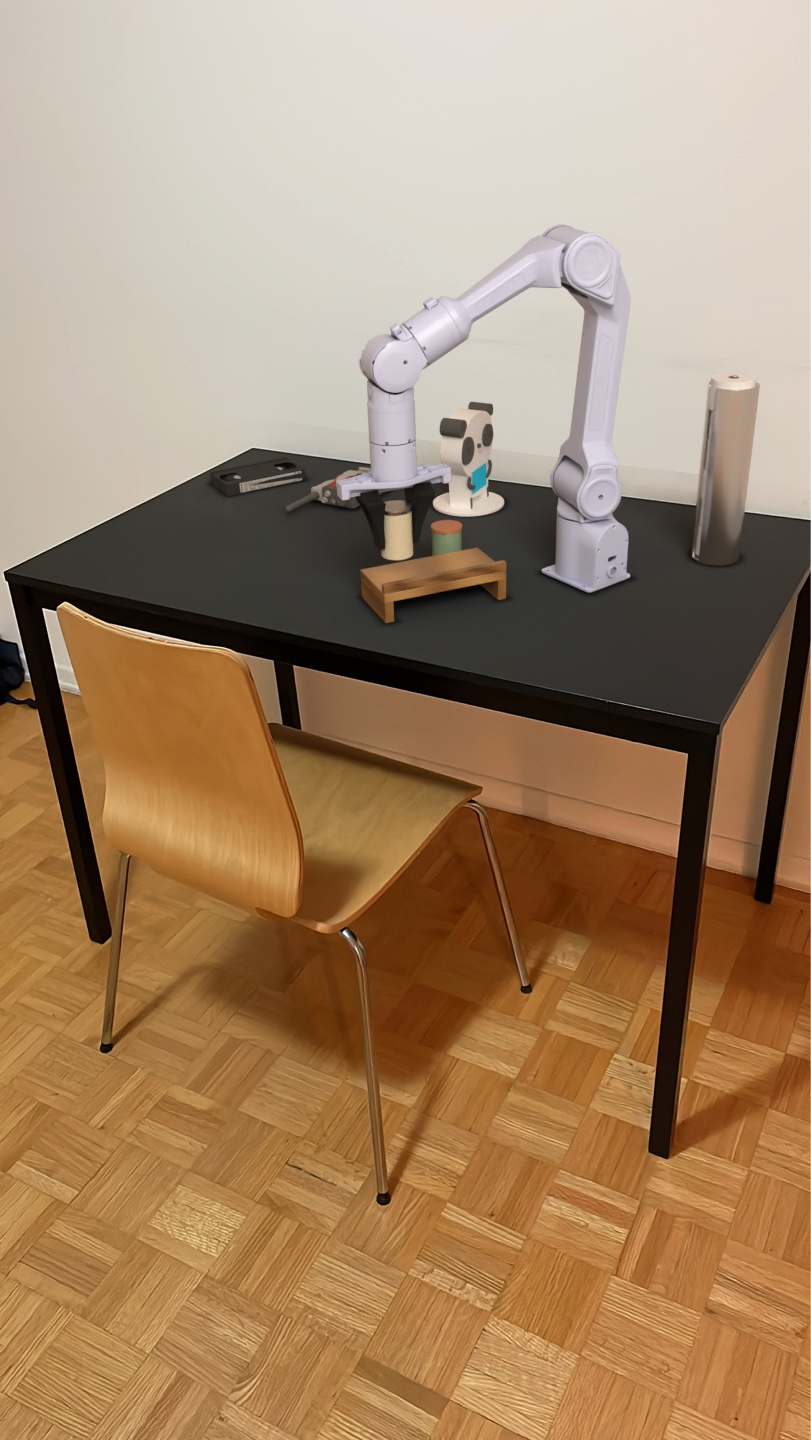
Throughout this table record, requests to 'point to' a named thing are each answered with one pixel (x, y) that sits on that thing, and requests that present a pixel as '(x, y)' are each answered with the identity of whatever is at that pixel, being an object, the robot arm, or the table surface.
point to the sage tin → (446, 537)
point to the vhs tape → (257, 476)
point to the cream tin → (398, 530)
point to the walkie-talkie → (331, 492)
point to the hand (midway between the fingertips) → (397, 544)
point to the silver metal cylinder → (724, 467)
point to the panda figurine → (468, 462)
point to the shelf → (430, 578)
